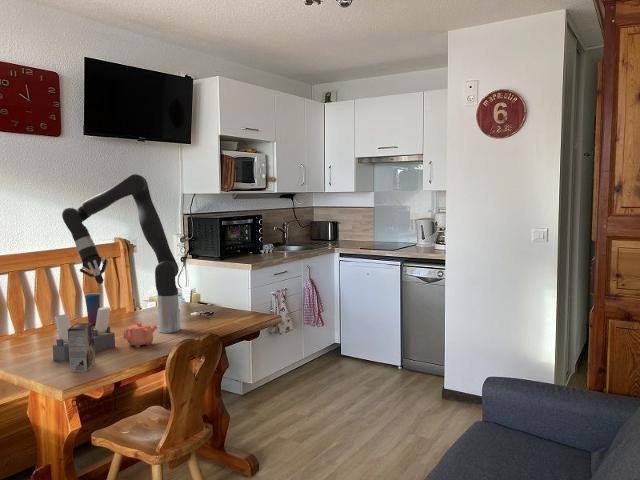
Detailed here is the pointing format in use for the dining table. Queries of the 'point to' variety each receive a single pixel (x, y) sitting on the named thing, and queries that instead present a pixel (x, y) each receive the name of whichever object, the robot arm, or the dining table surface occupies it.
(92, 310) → the cup
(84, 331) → the coffee box
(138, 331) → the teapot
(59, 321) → the rocker
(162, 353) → the dining table surface
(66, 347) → the grey block structure
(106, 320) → the rocker
